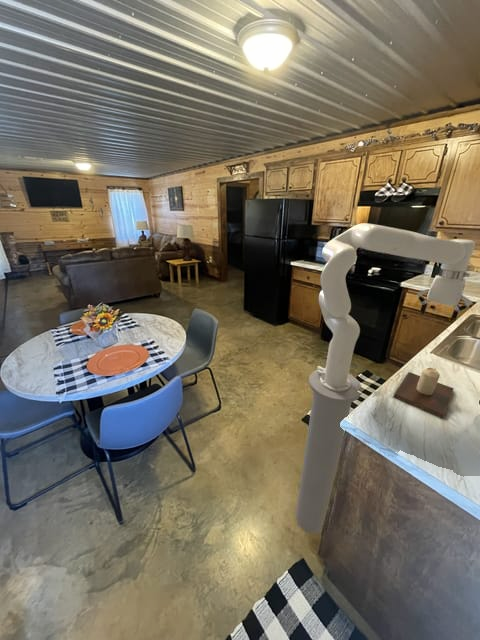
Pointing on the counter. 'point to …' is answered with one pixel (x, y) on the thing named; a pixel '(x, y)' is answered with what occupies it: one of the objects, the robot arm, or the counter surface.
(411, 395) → the walnut board
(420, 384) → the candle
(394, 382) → the counter surface
